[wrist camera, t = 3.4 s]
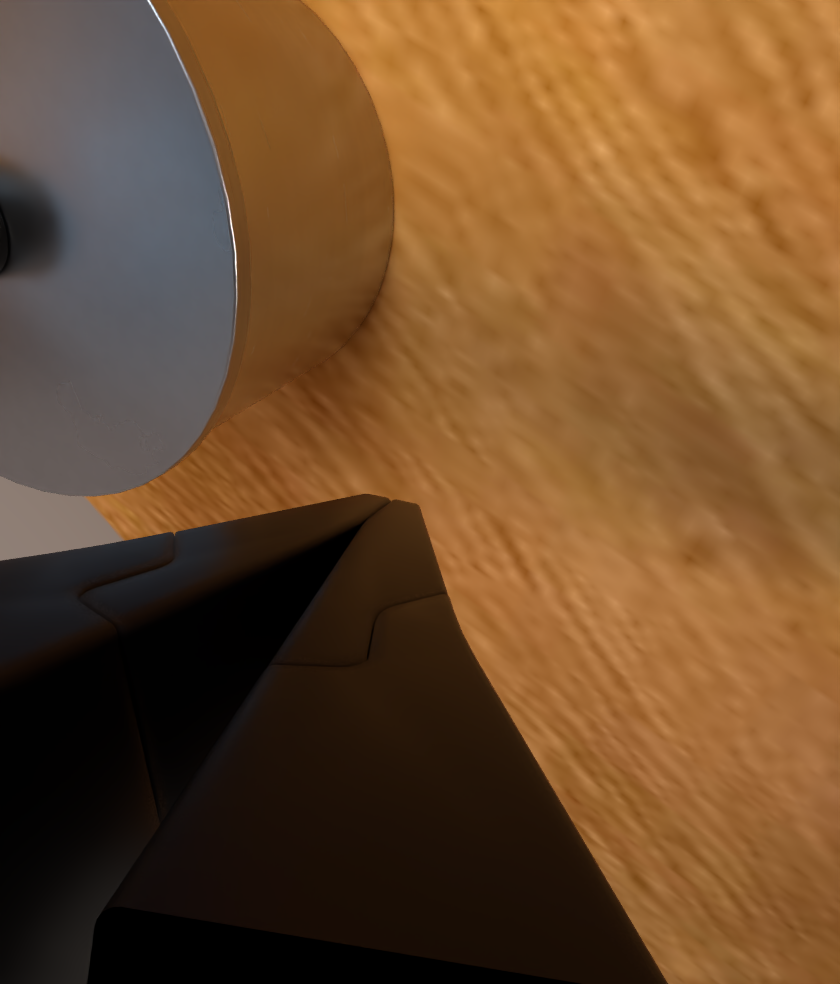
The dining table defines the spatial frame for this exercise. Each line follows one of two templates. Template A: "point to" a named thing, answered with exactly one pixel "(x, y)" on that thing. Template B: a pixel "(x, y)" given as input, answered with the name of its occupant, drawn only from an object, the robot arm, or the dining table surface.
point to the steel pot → (173, 225)
